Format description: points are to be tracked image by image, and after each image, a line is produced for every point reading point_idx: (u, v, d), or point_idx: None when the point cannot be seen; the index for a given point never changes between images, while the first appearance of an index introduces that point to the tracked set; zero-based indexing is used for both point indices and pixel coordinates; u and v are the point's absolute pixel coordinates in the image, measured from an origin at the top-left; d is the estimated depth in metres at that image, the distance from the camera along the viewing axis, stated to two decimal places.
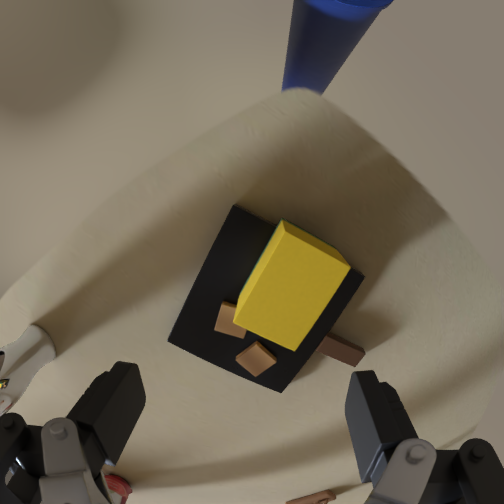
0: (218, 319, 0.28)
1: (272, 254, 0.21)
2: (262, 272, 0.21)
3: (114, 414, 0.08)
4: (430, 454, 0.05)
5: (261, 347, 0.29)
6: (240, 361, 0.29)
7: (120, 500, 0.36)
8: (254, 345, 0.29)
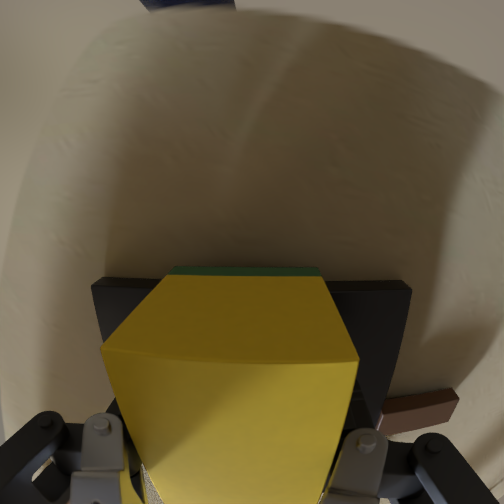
0: None
1: (121, 408, 0.06)
2: (135, 443, 0.07)
3: None
4: (382, 444, 0.06)
5: None
6: None
7: None
8: None
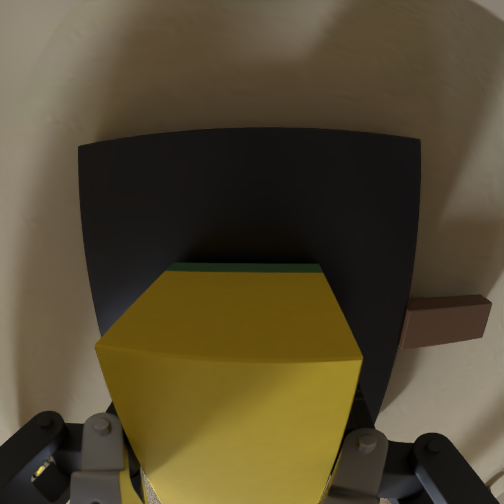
0: None
1: (116, 407, 0.06)
2: (131, 444, 0.06)
3: None
4: (382, 444, 0.06)
5: None
6: None
7: None
8: None
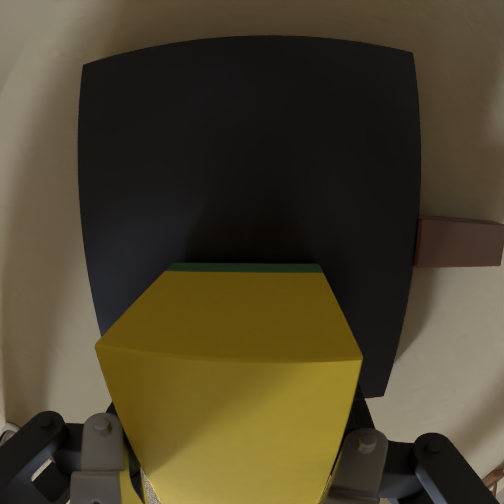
0: None
1: (116, 407, 0.06)
2: (131, 444, 0.06)
3: None
4: (382, 444, 0.06)
5: None
6: None
7: None
8: None
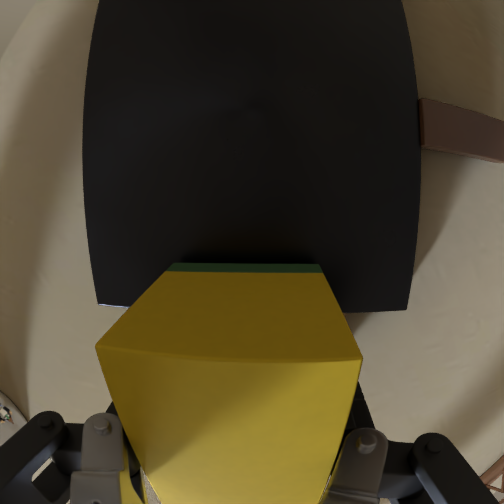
0: None
1: (117, 407, 0.06)
2: (132, 444, 0.06)
3: None
4: (382, 444, 0.06)
5: None
6: None
7: None
8: None
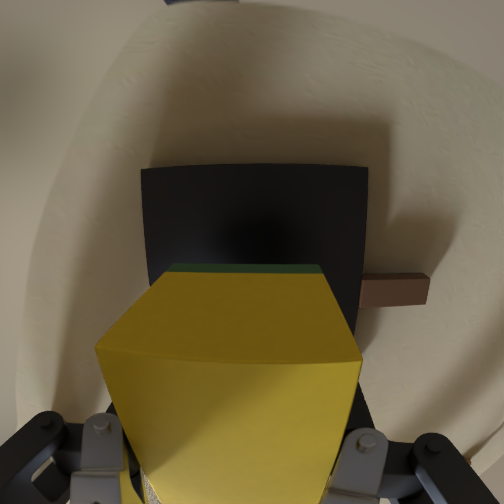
0: None
1: (116, 408, 0.06)
2: (131, 444, 0.06)
3: None
4: (382, 444, 0.06)
5: None
6: None
7: None
8: None
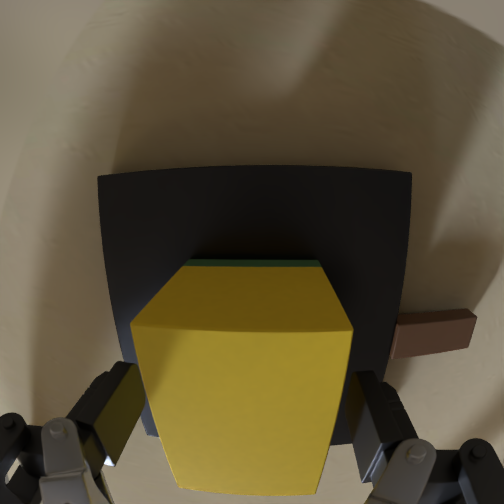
0: None
1: (144, 380, 0.07)
2: (154, 417, 0.08)
3: (114, 414, 0.08)
4: (430, 454, 0.05)
5: None
6: None
7: None
8: None
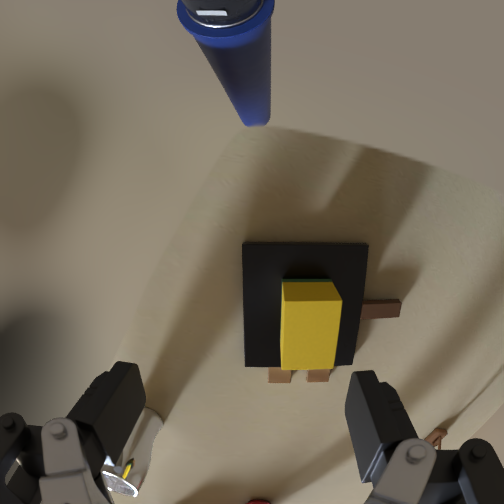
0: (269, 375, 0.37)
1: (284, 318, 0.28)
2: (283, 332, 0.28)
3: (114, 414, 0.08)
4: (430, 454, 0.05)
5: None
6: (310, 380, 0.37)
7: None
8: None
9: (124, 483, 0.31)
